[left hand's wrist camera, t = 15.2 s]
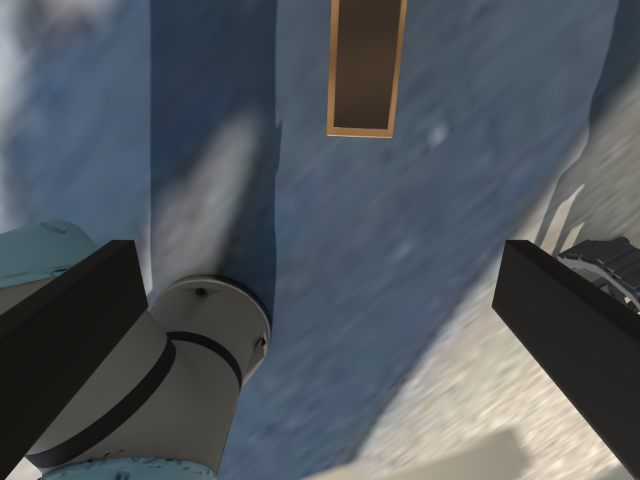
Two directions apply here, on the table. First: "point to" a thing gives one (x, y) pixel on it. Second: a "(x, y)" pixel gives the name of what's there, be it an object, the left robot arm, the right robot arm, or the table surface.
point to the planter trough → (364, 66)
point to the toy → (608, 268)
